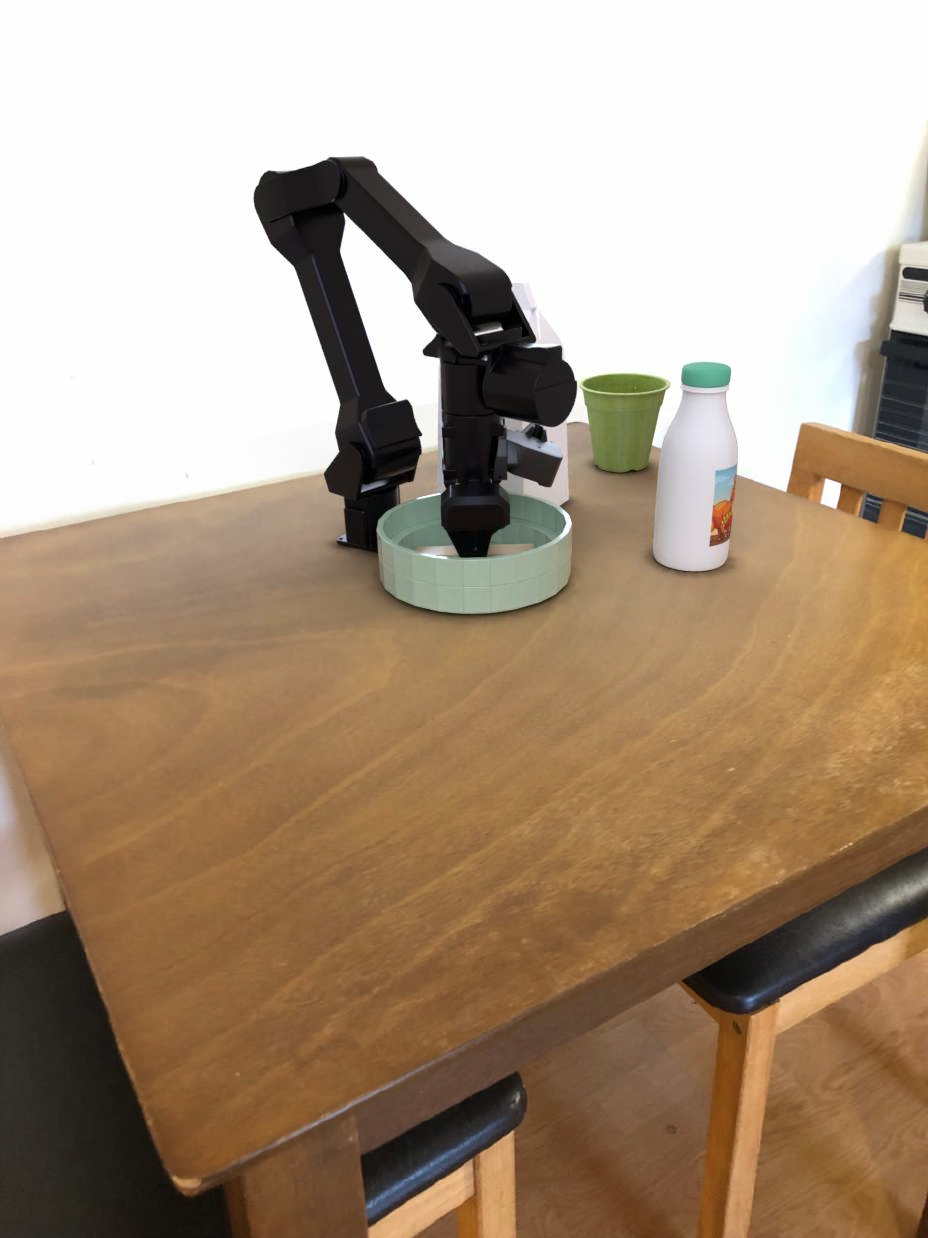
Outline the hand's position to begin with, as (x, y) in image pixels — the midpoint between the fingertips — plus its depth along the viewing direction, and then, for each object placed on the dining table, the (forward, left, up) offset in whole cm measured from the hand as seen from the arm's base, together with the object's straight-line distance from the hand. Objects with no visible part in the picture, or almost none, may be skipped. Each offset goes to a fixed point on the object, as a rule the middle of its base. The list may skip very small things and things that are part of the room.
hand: (475, 561), depth 94 cm
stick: (0, 0, -1) cm, 1 cm away
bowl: (0, 0, -2) cm, 2 cm away
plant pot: (-41, 0, -2) cm, 41 cm away
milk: (-20, -7, -2) cm, 21 cm away
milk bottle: (-14, +18, -2) cm, 23 cm away
